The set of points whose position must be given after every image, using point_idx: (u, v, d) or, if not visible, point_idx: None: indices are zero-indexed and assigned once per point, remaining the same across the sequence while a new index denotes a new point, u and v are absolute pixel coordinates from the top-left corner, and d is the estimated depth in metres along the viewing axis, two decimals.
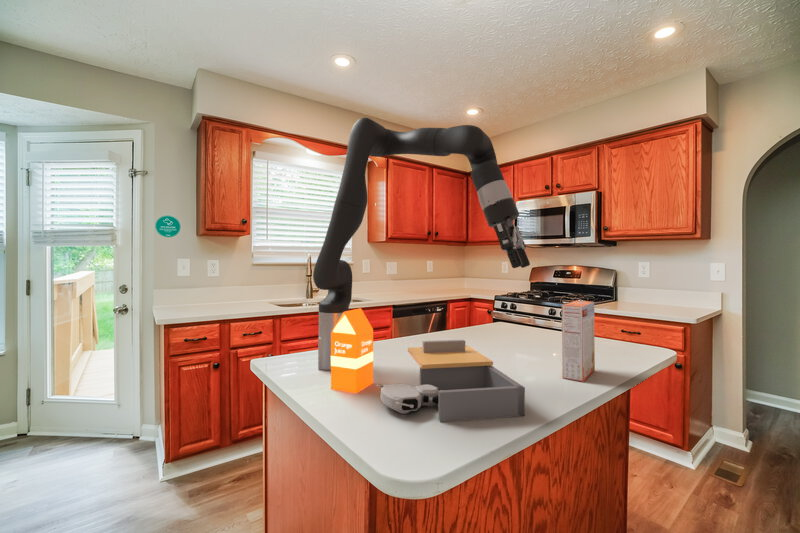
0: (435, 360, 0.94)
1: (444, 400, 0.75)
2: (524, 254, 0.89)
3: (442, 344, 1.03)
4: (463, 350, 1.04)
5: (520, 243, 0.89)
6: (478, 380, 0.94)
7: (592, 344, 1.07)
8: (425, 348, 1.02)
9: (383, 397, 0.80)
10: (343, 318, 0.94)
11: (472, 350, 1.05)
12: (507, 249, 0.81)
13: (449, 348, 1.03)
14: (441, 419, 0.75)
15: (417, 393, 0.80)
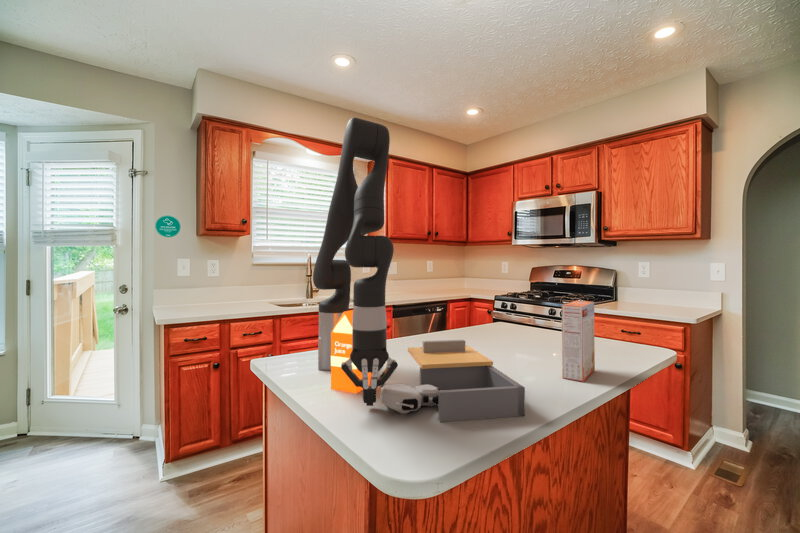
0: (435, 360, 0.94)
1: (444, 400, 0.75)
2: None
3: (442, 344, 1.03)
4: (463, 350, 1.04)
5: (371, 376, 0.80)
6: (478, 380, 0.94)
7: (592, 344, 1.07)
8: (425, 348, 1.02)
9: (383, 397, 0.80)
10: (343, 318, 0.94)
11: (472, 350, 1.05)
12: None
13: (449, 348, 1.03)
14: (441, 419, 0.75)
15: (417, 393, 0.80)
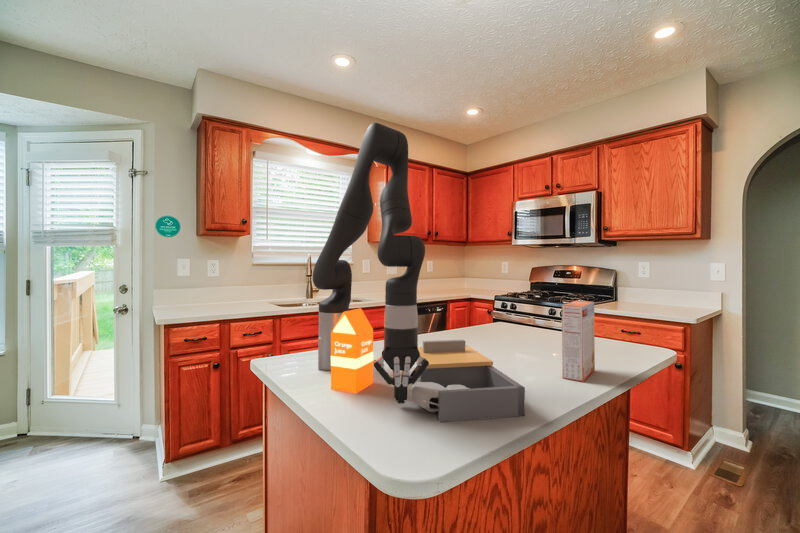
0: (435, 360, 0.94)
1: (444, 400, 0.75)
2: (401, 390, 0.82)
3: (442, 344, 1.03)
4: (463, 350, 1.04)
5: (403, 374, 0.81)
6: (478, 380, 0.94)
7: (592, 344, 1.07)
8: (425, 348, 1.02)
9: (412, 394, 0.81)
10: (343, 318, 0.94)
11: (472, 350, 1.05)
12: None
13: (449, 348, 1.03)
14: (441, 419, 0.75)
15: None
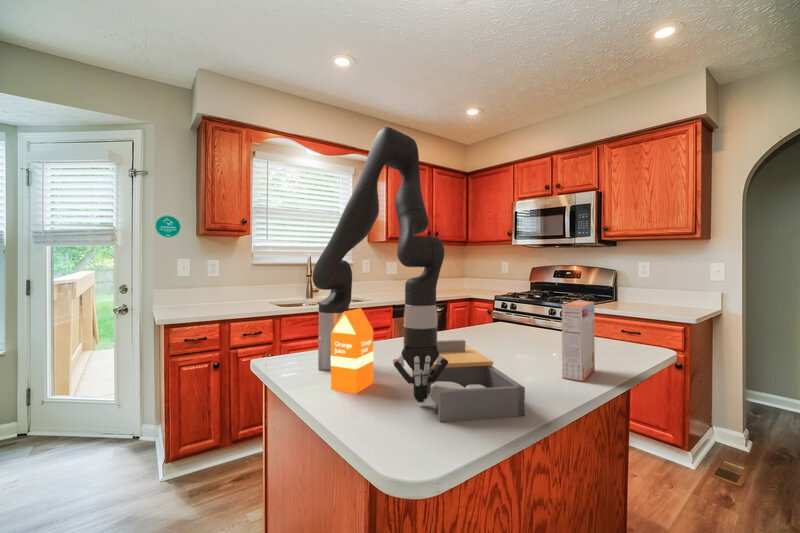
0: None
1: (444, 400, 0.75)
2: None
3: (442, 344, 1.03)
4: (463, 350, 1.04)
5: (422, 373, 0.82)
6: (478, 380, 0.94)
7: (592, 344, 1.07)
8: None
9: (432, 393, 0.82)
10: (343, 318, 0.94)
11: (472, 350, 1.05)
12: None
13: (449, 348, 1.03)
14: (441, 419, 0.75)
15: None
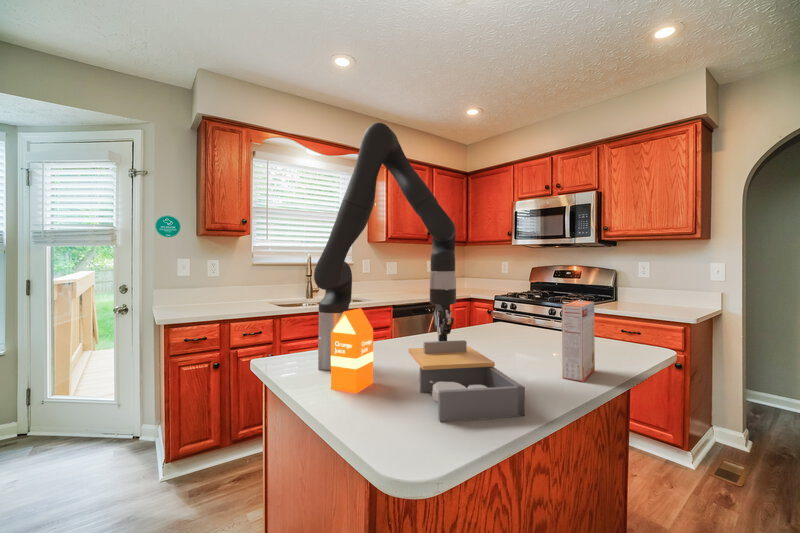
0: (436, 361, 0.93)
1: (444, 400, 0.75)
2: None
3: (443, 345, 1.02)
4: (464, 351, 1.03)
5: None
6: (478, 380, 0.94)
7: (592, 344, 1.07)
8: (426, 349, 1.01)
9: (434, 393, 0.82)
10: (343, 318, 0.94)
11: (473, 351, 1.04)
12: (444, 334, 1.03)
13: (450, 349, 1.02)
14: (441, 419, 0.75)
15: None
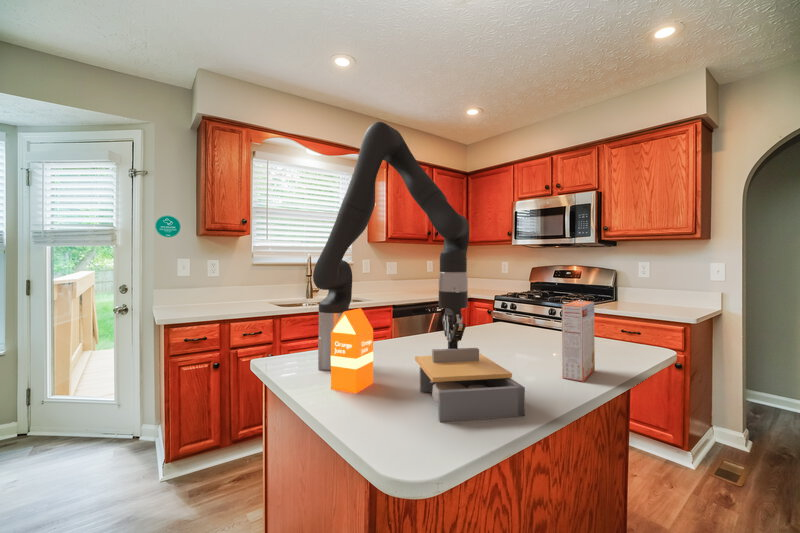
0: (447, 372, 0.84)
1: (444, 400, 0.75)
2: None
3: (454, 353, 0.93)
4: (477, 359, 0.94)
5: None
6: (478, 380, 0.94)
7: (592, 344, 1.07)
8: (435, 357, 0.92)
9: (434, 393, 0.82)
10: (343, 318, 0.94)
11: (486, 359, 0.95)
12: (454, 340, 0.94)
13: (461, 358, 0.93)
14: (441, 419, 0.75)
15: None
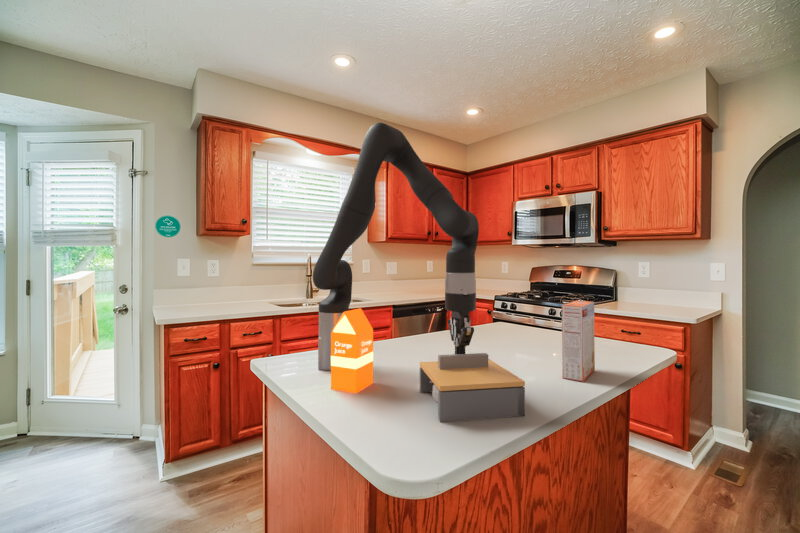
0: (455, 380, 0.79)
1: (444, 400, 0.75)
2: None
3: (461, 359, 0.87)
4: (486, 366, 0.88)
5: None
6: None
7: (592, 344, 1.07)
8: (441, 364, 0.86)
9: (434, 393, 0.82)
10: (343, 318, 0.94)
11: (496, 365, 0.89)
12: (462, 345, 0.89)
13: (470, 364, 0.88)
14: (441, 419, 0.75)
15: None
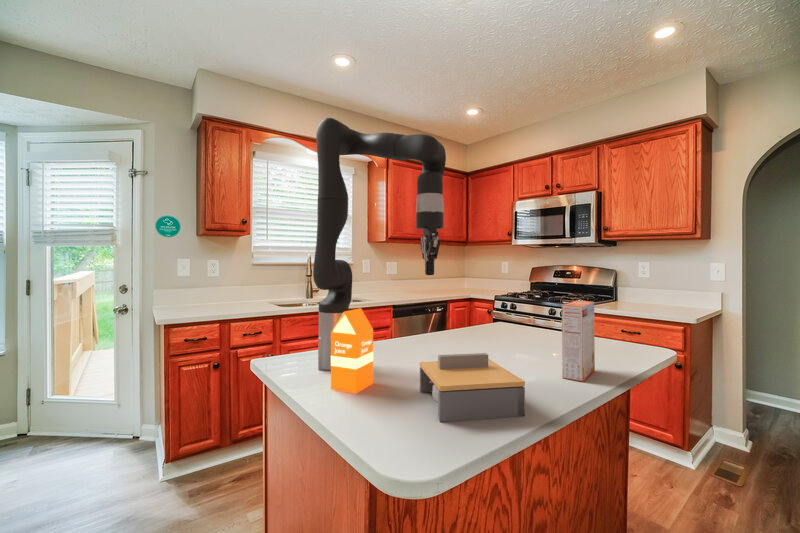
0: (455, 380, 0.79)
1: (444, 400, 0.75)
2: None
3: (461, 359, 0.87)
4: (486, 366, 0.88)
5: None
6: None
7: (592, 344, 1.07)
8: (441, 364, 0.86)
9: (434, 393, 0.82)
10: (343, 318, 0.94)
11: (496, 365, 0.89)
12: (430, 259, 0.99)
13: (470, 364, 0.88)
14: (441, 419, 0.75)
15: None
